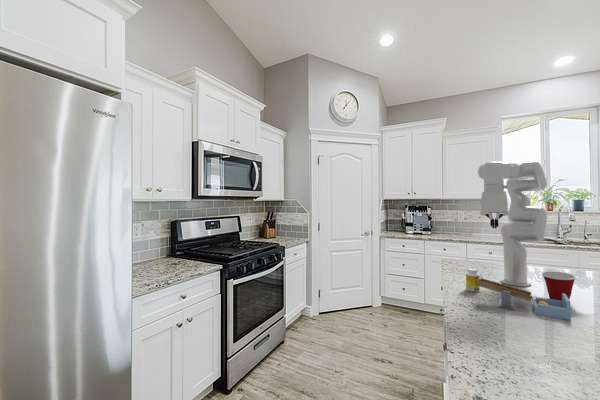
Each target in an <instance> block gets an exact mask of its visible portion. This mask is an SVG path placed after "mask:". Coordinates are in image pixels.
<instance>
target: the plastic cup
mask: <svg viewBox="0 0 600 400" xmlns="http://www.w3.org/2000/svg"><path fill="white" fill-rule="evenodd" d="M541 275H542V277H543V279H544V282H545V286H546V289H547V294H548V299H552V300H559V301H562V293H563V294H566V295H567V297H568V299H569V300H570V301H571V299H570V298H571V297H572V291H573V287H574V286H573V285H574V283H575V280H576V279H577V276H576V275H574V274H573V273H568V272H563V271H549V270H548V271H543V272H541Z"/></svg>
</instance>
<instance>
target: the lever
mask: <svg viewBox="0 0 600 400" xmlns="http://www.w3.org/2000/svg"><path fill="white" fill-rule="evenodd" d="M507 285H508V284H505V283H504V284H503V283H500V282H496V281H493V280H490V279H485V278H483V277H482V275H479V279H478V284H477V286H480V288H484V289H487V290H491V291H493V292H497V293H500V294H501V290H505V291H511V297H513V298H517V299H520V300H524V301H527V302H531V303H532V301H533V295H531V294H532V292H531V291H529V290H526V289H523V288H517V287H513V286H512V285H508V286H507Z"/></svg>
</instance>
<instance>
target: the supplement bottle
mask: <svg viewBox="0 0 600 400" xmlns="http://www.w3.org/2000/svg"><path fill="white" fill-rule="evenodd" d="M479 276H480V274H479V272H478V269H476V268H468V269H467V272H466V274H465V283H466V284H465V286H466V290H467V291H469V292H473V293H478V292H480V291H481V289H480V288H481V287H480V286H477V284H478V279H479Z"/></svg>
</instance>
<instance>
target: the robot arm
mask: <svg viewBox="0 0 600 400" xmlns="http://www.w3.org/2000/svg"><path fill="white" fill-rule="evenodd" d="M477 174H478V176H479V178H480V179H482V180H483V191H481V198H480V216H483V217H487V218H488V219H489V222H490V227H492V229H497V227H499V220H500V219H501V218H502V217H506V216H507V219H508V222H506V223H504V224H502V226H501V229H500V233H501V238H502V242H503V243H502V244H503V277H501V278H500V282H501V283H502V284H503V283H504V284H505V285H509V286H516V287H531V285H532V283H531V281H529V280H528V267H527V266H528V262H527V261H528V260H527V258H528V257H527V252H528V251H527V248H526V247H525V246H524V245H523V242H524V243H533V244H534V243H535V244H538V243H542V242H543V240H544V239H545V236H546V235H545V233H546V227H547V222H548V213H547V211H546V209H545V208H544V207H543V206H542V207H541V206H533V205H532V206H531V199H530V197H529V196H528V195H526V194H525V193H524V192H541V191H544V190H545V189H546V188H547V185H548V184H547V178H546V175H545V173H544V170H543V167H542V165H541V164H540V162H539V161H537V160H525V161H499V160H498V161H489V162H485V163H483V164H481V165H480V166H479V167H478V169H477ZM506 179H507V181H506V185H505V184H504V180H506ZM506 189H507V191H505V190H506ZM507 194H508V195H509V197H510V205H508V195H507ZM493 214H496V215H495V218H494V216H493Z"/></svg>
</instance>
